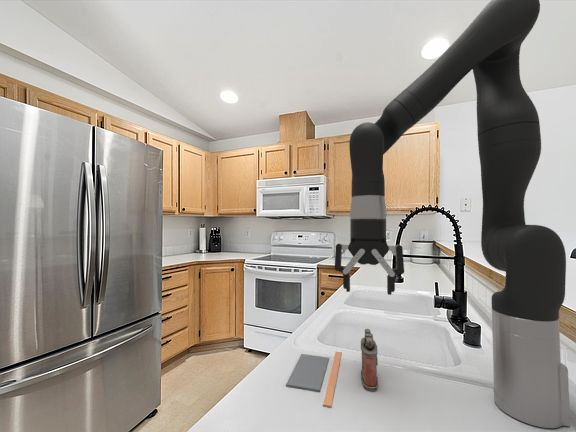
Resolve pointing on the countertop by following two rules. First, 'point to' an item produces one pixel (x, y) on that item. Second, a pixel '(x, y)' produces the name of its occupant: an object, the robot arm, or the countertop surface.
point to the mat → (308, 373)
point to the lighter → (369, 362)
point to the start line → (332, 381)
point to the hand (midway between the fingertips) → (368, 292)
